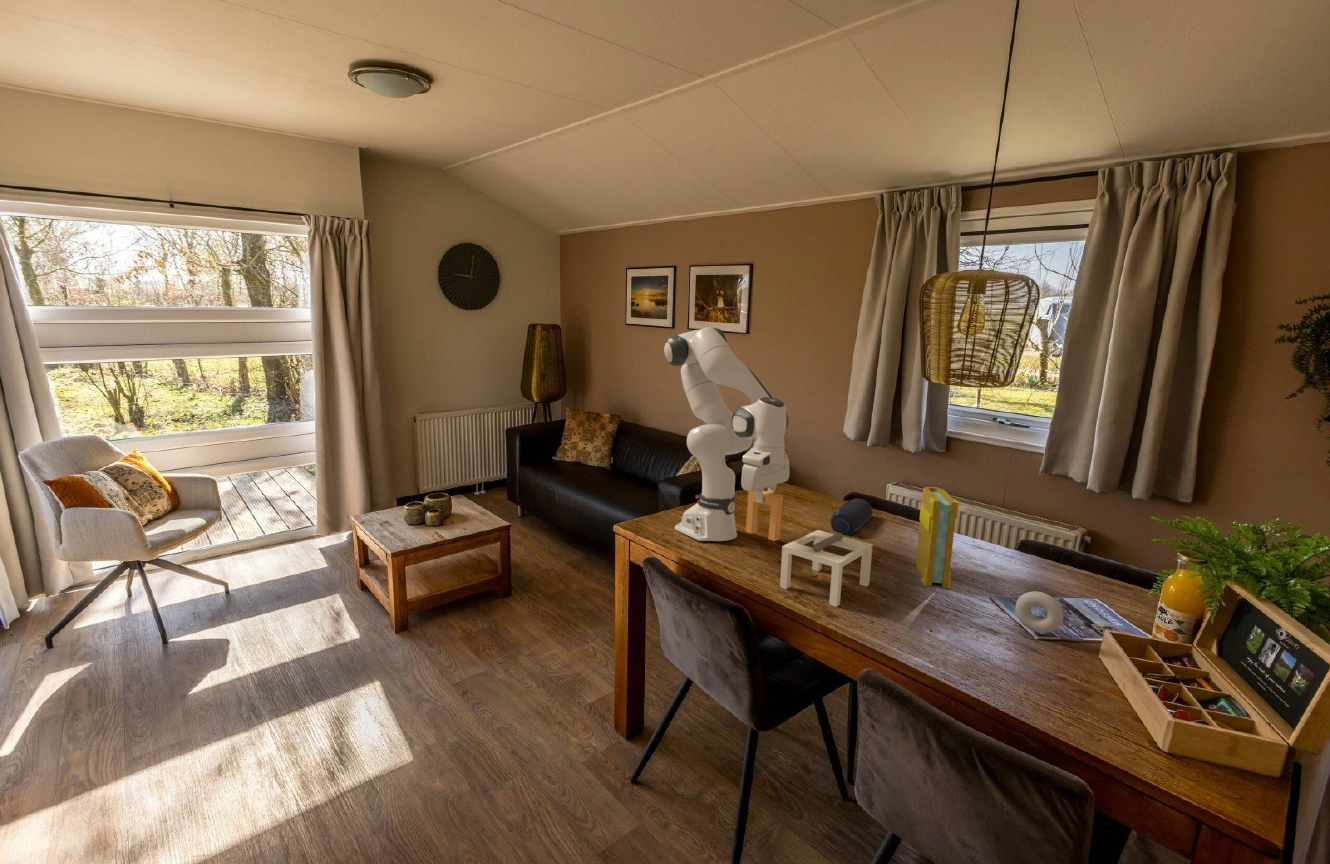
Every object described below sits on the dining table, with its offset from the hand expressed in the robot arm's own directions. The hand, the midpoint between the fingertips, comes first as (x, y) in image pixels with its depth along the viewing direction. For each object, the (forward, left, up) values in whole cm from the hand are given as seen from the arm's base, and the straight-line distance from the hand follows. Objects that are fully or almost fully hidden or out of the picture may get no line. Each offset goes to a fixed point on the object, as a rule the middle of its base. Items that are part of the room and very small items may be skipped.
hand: (764, 500), depth 173 cm
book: (+37, +34, -22) cm, 55 cm away
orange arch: (0, 0, -11) cm, 11 cm away
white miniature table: (+19, +4, -22) cm, 29 cm away
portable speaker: (+2, +56, -22) cm, 60 cm away
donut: (+68, +17, -22) cm, 73 cm away
